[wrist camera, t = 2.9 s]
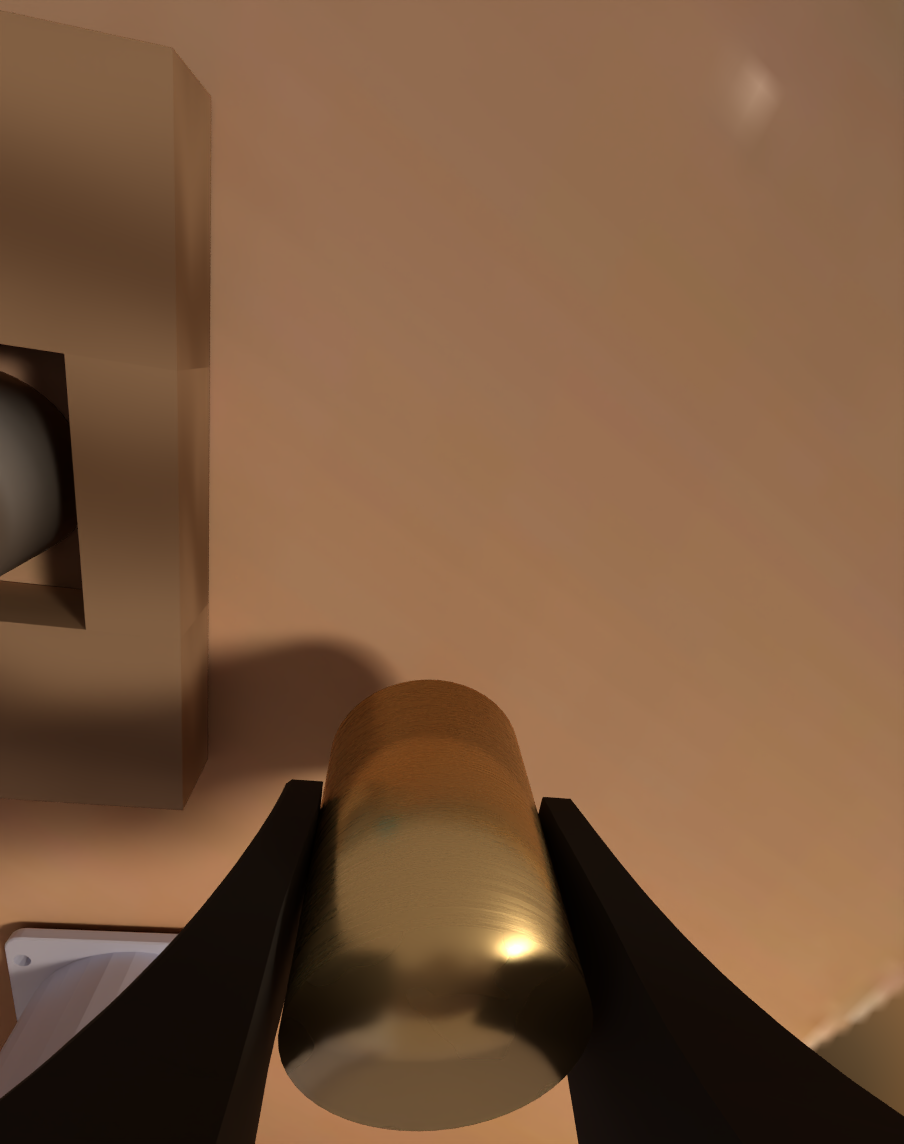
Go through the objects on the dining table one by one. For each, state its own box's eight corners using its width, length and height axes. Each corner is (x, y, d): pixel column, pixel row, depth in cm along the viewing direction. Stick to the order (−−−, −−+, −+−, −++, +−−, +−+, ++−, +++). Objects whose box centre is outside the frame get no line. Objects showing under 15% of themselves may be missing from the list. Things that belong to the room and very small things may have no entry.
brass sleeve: (499, 838, 15) (555, 1130, 9) (323, 827, 14) (271, 1131, 9) (535, 689, 13) (627, 933, 8) (339, 670, 13) (287, 918, 7)
